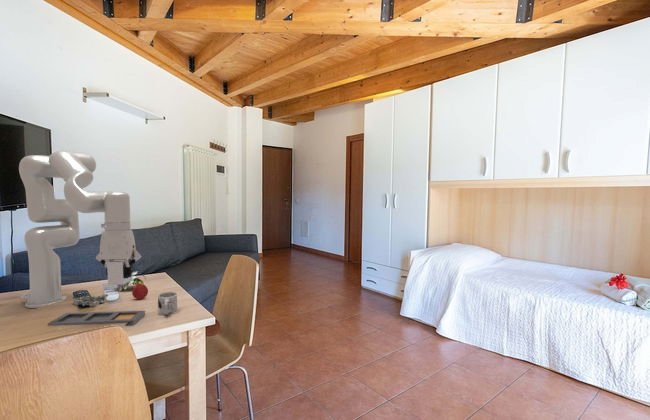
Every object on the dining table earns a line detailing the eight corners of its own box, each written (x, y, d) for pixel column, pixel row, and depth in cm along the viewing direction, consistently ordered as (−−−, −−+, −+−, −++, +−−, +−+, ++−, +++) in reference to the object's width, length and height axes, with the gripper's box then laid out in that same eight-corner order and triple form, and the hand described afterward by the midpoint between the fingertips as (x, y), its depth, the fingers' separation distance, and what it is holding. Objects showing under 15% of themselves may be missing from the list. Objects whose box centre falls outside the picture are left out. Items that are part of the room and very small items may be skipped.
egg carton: (109, 304, 129) (109, 294, 129) (92, 310, 122) (92, 300, 122) (89, 301, 132) (89, 291, 131) (71, 307, 124) (71, 297, 124)
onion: (151, 298, 136) (150, 280, 135) (142, 303, 130) (141, 284, 130) (138, 297, 136) (138, 279, 136) (129, 302, 131) (128, 283, 130)
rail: (48, 328, 105) (47, 323, 105) (66, 317, 114) (66, 313, 114) (133, 325, 109) (133, 320, 109) (144, 314, 118) (144, 310, 118)
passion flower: (121, 302, 145) (104, 282, 143) (137, 290, 155) (121, 272, 154) (138, 290, 143) (120, 270, 141) (153, 279, 153) (137, 260, 151)
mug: (159, 309, 124) (159, 293, 124) (177, 307, 126) (177, 291, 126) (155, 319, 115) (155, 301, 114) (175, 316, 117) (175, 299, 117)
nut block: (107, 284, 109) (107, 262, 108) (115, 280, 114) (114, 259, 113) (123, 284, 109) (122, 261, 109) (130, 280, 114) (129, 258, 114)
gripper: (85, 228, 106) (86, 281, 107) (138, 228, 108) (139, 279, 109) (98, 226, 113) (99, 275, 114) (148, 225, 115) (149, 274, 116)
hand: (119, 277), depth 112 cm, fingers closed on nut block, 5 cm apart
